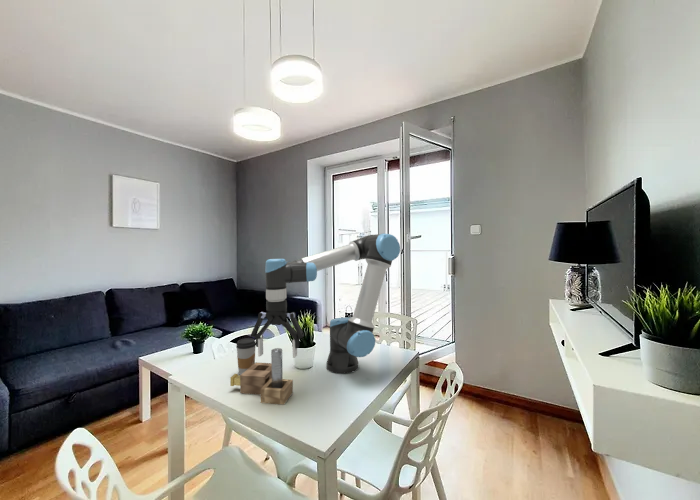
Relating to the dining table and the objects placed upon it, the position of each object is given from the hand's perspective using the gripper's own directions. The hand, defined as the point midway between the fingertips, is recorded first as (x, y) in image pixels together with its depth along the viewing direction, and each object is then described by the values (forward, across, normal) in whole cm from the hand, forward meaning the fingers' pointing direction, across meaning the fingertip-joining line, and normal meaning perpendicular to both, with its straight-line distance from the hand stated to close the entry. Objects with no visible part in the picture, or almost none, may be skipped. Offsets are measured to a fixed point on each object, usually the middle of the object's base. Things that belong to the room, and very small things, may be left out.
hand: (277, 355), depth 111 cm
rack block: (+16, 0, 0) cm, 16 cm away
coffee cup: (+16, +22, -17) cm, 32 cm away
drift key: (+13, +14, -3) cm, 20 cm away
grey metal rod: (+16, 0, 0) cm, 16 cm away
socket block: (+16, +11, -7) cm, 20 cm away
